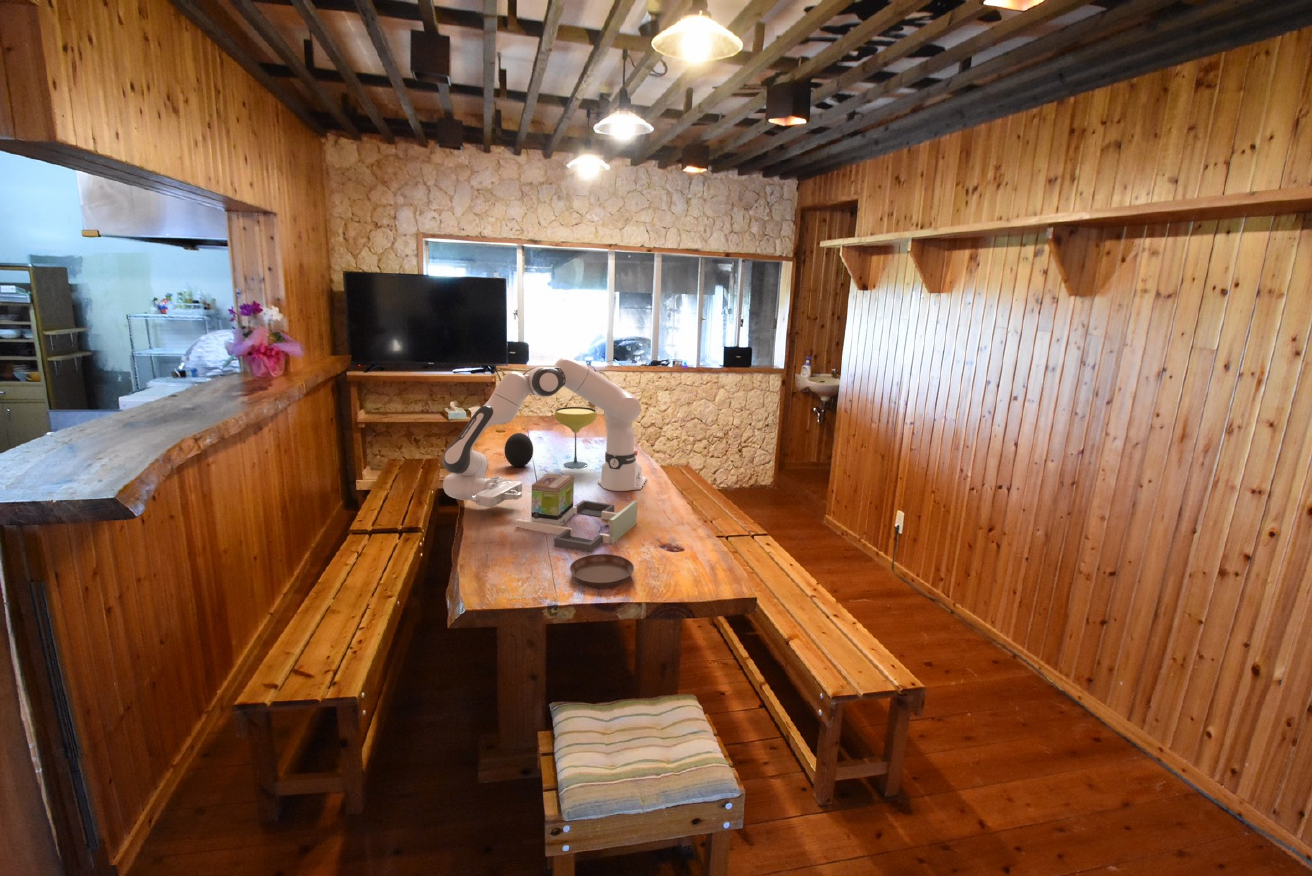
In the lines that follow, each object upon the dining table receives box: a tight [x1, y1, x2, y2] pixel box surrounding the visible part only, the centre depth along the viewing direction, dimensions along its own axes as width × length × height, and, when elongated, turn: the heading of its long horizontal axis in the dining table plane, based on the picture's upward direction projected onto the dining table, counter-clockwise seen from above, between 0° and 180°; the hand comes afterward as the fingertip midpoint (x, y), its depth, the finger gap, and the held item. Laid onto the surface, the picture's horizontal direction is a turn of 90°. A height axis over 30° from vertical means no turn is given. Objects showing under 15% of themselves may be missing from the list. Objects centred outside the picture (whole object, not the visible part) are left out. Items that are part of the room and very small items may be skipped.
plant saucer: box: [569, 553, 635, 589], centre depth 176 cm, size 18×18×3 cm
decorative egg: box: [504, 432, 534, 468], centre depth 279 cm, size 12×12×15 cm
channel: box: [515, 500, 638, 545], centre depth 213 cm, size 20×35×8 cm, turn 70°
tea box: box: [530, 473, 575, 527], centre depth 215 cm, size 15×10×15 cm
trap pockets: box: [553, 499, 616, 553], centre depth 212 cm, size 36×20×2 cm, turn 160°
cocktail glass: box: [554, 406, 597, 469], centre depth 283 cm, size 18×18×25 cm
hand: (519, 496), depth 219 cm, fingers closed
